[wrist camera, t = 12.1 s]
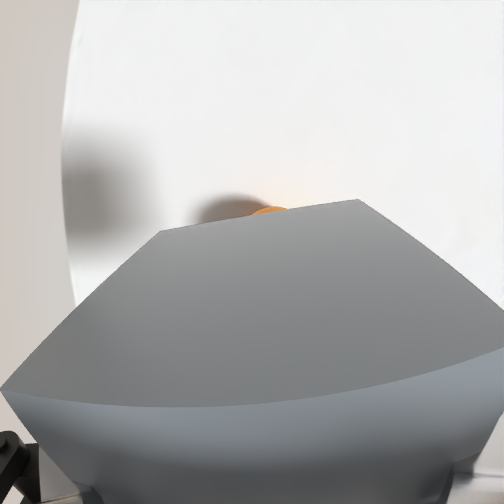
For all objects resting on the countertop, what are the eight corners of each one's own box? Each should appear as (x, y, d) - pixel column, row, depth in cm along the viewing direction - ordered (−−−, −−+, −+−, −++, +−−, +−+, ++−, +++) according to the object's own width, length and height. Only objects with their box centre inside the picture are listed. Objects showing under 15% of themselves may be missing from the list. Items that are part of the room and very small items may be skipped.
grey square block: (160, 231, 12) (-1, 388, 3) (358, 199, 11) (530, 336, 3) (206, 382, 14) (163, 557, 6) (364, 362, 13) (420, 538, 5)
